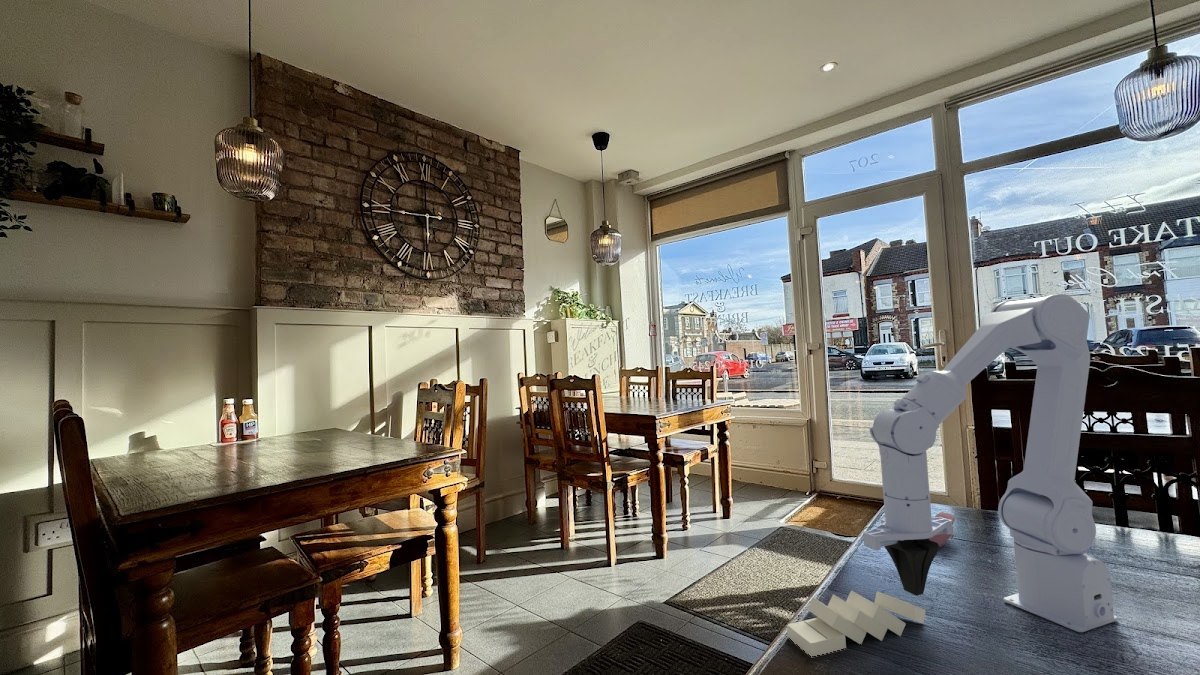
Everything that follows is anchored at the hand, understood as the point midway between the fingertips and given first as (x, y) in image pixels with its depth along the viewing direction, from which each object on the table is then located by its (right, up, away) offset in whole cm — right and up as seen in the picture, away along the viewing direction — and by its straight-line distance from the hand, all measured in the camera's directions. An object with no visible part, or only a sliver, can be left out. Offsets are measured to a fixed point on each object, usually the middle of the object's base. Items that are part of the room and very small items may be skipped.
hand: (913, 591), depth 72 cm
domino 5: (-1, -2, 0) cm, 3 cm away
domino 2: (-11, -3, -4) cm, 12 cm away
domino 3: (-8, -3, -3) cm, 9 cm away
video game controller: (+20, -4, +25) cm, 33 cm away
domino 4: (-5, -3, -2) cm, 6 cm away
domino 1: (-13, -3, -4) cm, 15 cm away
